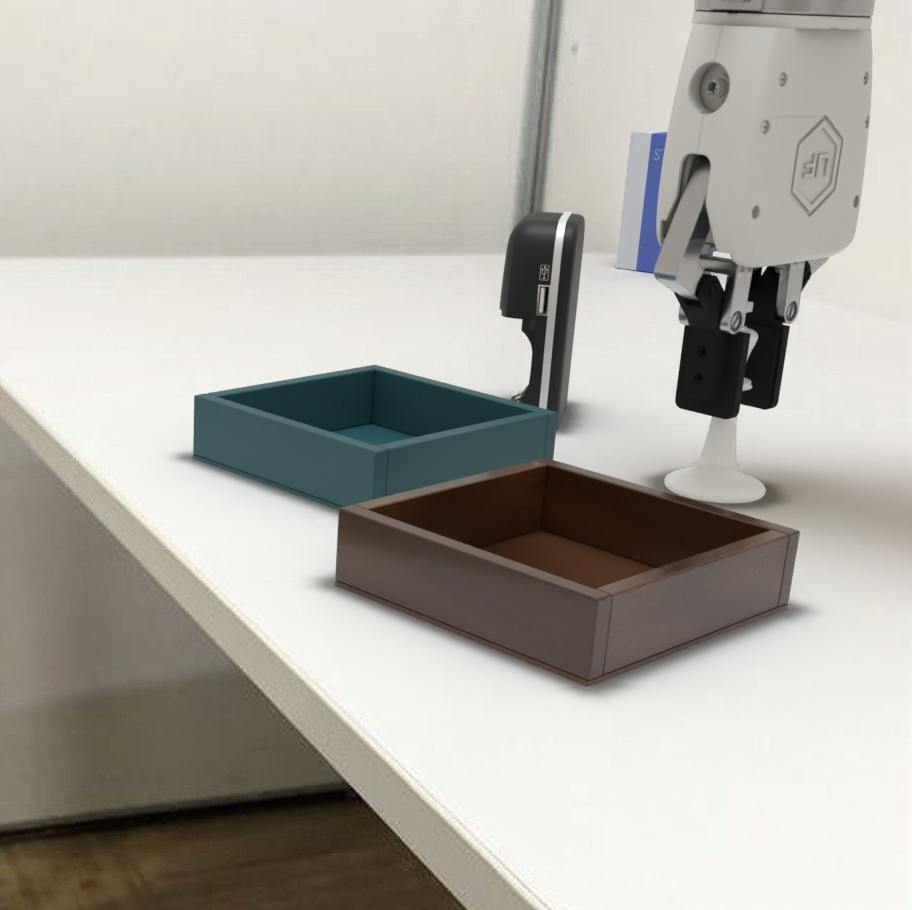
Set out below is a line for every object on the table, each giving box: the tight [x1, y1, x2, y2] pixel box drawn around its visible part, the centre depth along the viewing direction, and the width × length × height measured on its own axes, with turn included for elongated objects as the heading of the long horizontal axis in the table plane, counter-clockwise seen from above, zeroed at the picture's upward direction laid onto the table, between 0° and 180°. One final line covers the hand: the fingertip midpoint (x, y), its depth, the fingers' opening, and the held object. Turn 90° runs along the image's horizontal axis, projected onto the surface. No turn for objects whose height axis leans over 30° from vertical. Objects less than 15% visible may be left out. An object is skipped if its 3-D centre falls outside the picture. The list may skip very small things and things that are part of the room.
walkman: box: [615, 129, 714, 275], centre depth 141 cm, size 8×3×12 cm, turn 53°
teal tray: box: [192, 364, 558, 511], centre depth 79 cm, size 13×13×4 cm
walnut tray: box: [334, 458, 801, 687], centre depth 63 cm, size 13×13×4 cm
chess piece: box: [663, 300, 767, 504], centre depth 77 cm, size 5×5×10 cm
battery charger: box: [499, 211, 586, 431], centre depth 89 cm, size 7×4×11 cm, turn 166°
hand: (726, 404), depth 77 cm, fingers closed
